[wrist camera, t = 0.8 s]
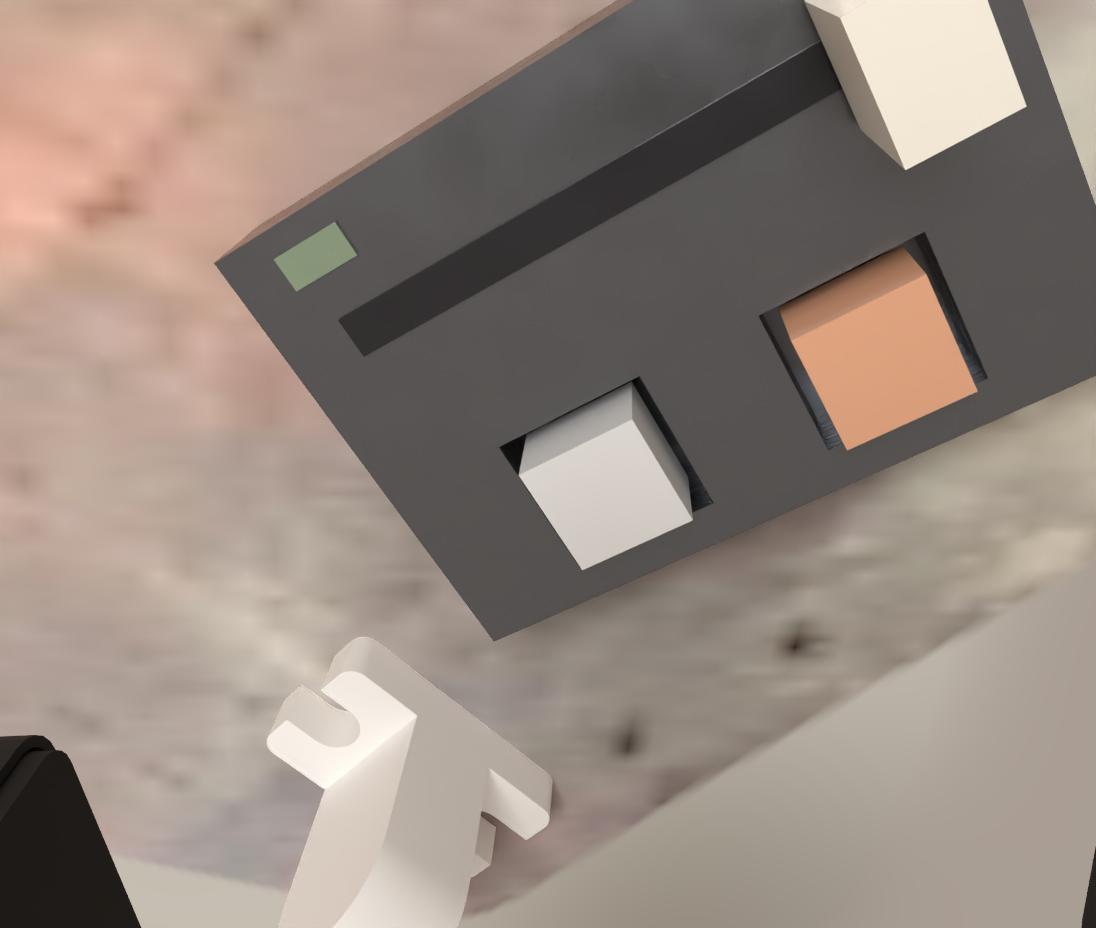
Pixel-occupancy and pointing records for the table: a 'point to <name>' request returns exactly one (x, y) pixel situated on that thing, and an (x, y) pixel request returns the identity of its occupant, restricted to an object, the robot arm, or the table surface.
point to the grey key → (606, 477)
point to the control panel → (658, 279)
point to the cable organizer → (397, 796)
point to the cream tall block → (918, 70)
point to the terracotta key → (877, 347)
